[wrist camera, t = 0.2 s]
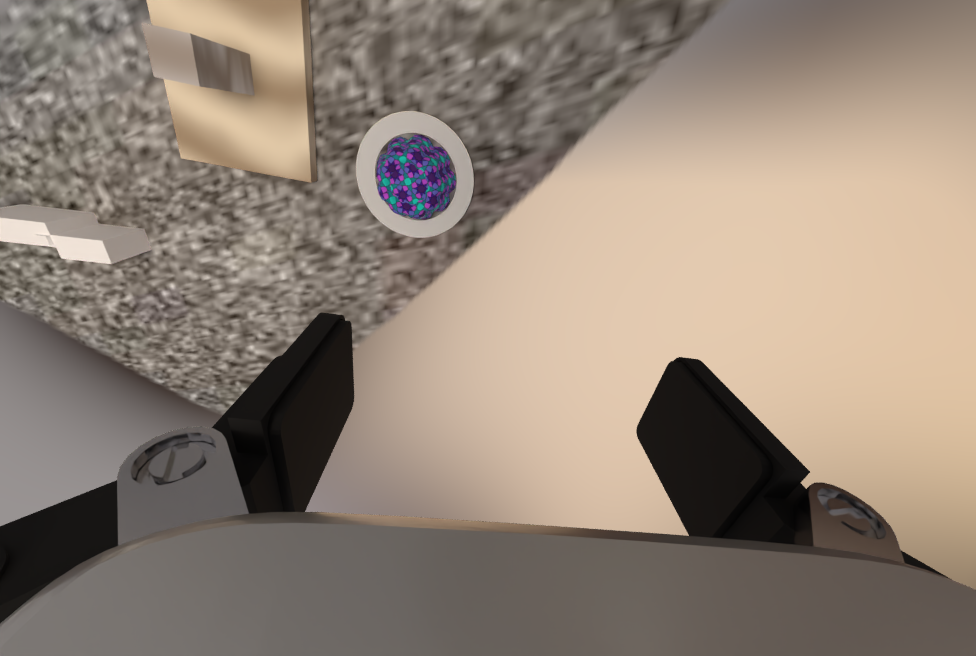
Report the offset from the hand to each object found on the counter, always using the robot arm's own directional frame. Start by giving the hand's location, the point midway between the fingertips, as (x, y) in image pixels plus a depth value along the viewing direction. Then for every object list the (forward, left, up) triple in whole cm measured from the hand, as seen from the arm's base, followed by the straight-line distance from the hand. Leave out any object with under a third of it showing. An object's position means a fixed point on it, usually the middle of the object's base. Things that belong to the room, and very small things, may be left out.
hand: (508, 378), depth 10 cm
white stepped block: (+11, -41, -32) cm, 53 cm away
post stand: (-7, -24, -31) cm, 40 cm away
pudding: (-1, -8, -32) cm, 32 cm away
